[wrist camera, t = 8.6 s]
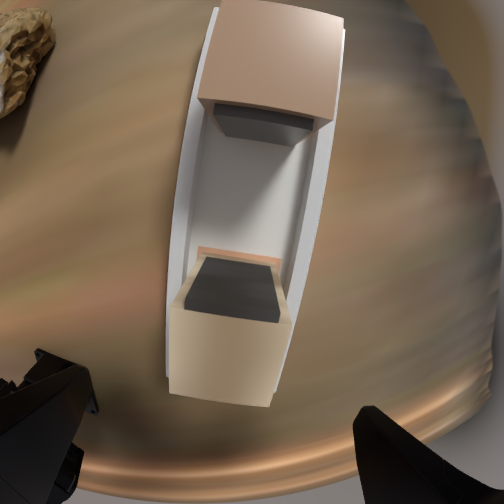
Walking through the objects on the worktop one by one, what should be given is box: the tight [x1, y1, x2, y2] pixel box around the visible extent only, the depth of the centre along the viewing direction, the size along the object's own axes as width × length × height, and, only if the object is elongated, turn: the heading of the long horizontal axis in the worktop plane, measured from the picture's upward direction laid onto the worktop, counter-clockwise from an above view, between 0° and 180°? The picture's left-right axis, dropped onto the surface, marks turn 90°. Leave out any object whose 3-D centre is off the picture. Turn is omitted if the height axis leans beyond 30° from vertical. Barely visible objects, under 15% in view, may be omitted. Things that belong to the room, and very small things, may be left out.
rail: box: [166, 0, 345, 392], centre depth 12 cm, size 23×8×8 cm, turn 171°
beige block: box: [169, 252, 292, 407], centre depth 13 cm, size 4×5×7 cm
